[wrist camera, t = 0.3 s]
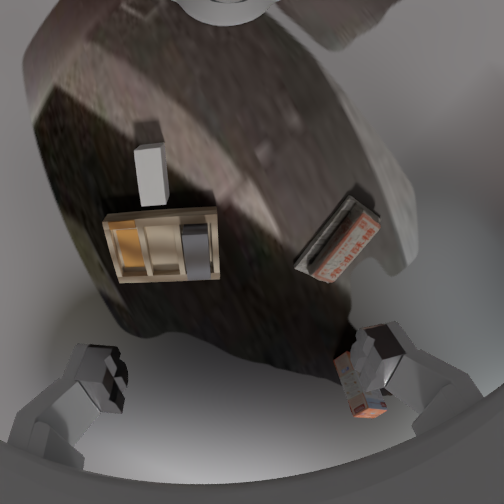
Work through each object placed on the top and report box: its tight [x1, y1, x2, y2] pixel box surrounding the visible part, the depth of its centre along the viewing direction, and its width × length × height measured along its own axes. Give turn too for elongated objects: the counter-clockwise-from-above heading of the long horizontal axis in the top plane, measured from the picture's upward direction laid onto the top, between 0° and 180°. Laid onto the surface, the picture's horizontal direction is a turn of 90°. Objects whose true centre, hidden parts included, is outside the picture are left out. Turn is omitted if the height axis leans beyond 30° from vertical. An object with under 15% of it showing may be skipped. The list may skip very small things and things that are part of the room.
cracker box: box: [333, 351, 388, 418], centre depth 73 cm, size 14×6×21 cm, turn 48°
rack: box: [102, 206, 220, 283], centre depth 46 cm, size 13×20×6 cm
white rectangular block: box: [134, 142, 169, 206], centre depth 40 cm, size 9×4×4 cm, turn 179°
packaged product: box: [294, 195, 381, 283], centre depth 52 cm, size 18×5×10 cm
